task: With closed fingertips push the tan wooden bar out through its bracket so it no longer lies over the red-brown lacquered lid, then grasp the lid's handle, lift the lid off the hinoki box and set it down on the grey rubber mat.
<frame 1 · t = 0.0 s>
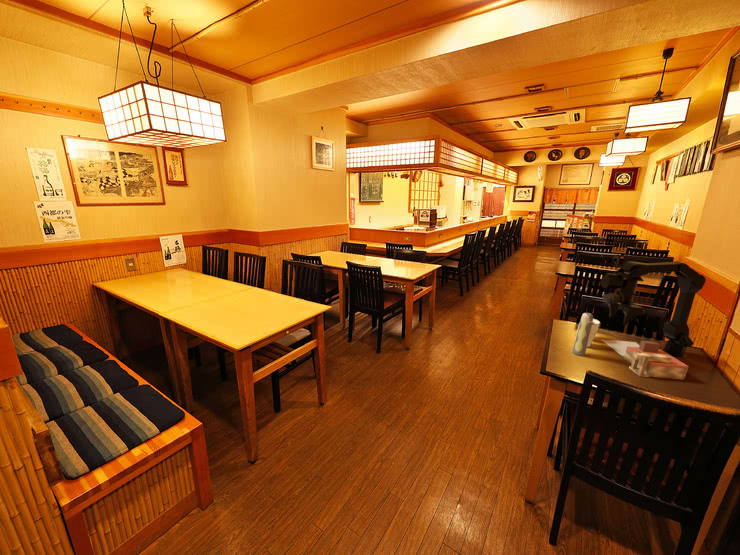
hand: (617, 320, 143), 15 cm above the table, fingers open, 9 cm apart
mat: (629, 349, 147), on the table
toolbox: (652, 368, 131), on the table
lid: (655, 358, 130), point 5 cm above the table, touching toolbox
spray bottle: (578, 353, 141), on the table
tan wooden bar: (651, 357, 126), point 7 cm above the table, slide at 0.0 cm
white cup: (585, 338, 158), on the table
can: (582, 344, 150), on the table
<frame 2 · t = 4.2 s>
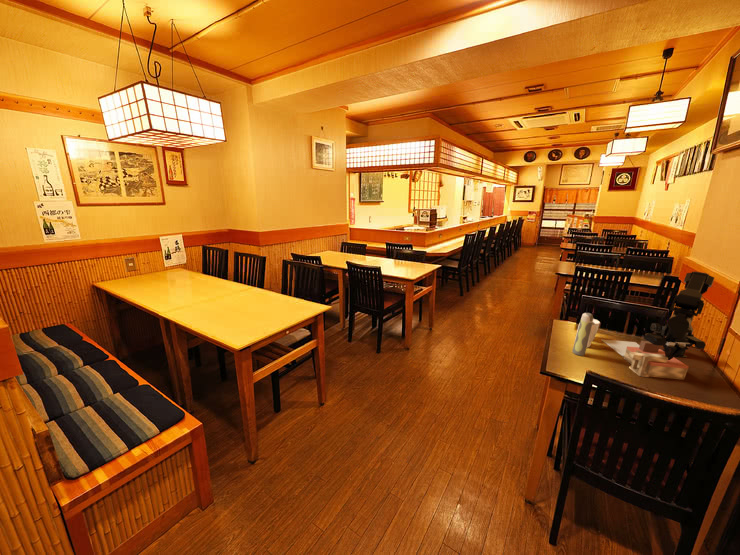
hand: (667, 359, 125), 7 cm above the table, fingers closed
tan wooden bar: (647, 357, 126), point 7 cm above the table, slide at 1.4 cm, touching gripper
everything else where it was.
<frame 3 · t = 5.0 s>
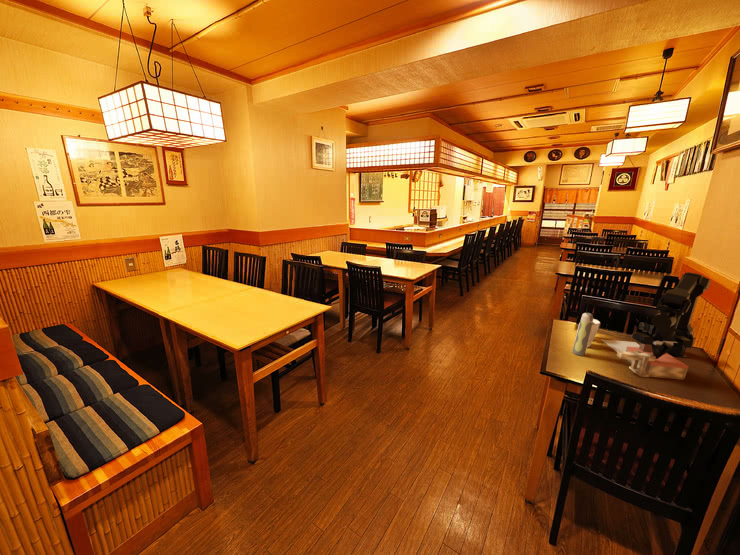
hand: (655, 358, 125), 7 cm above the table, fingers closed
tan wooden bar: (635, 356, 126), point 7 cm above the table, slide at 6.0 cm, touching gripper
everything else where it was.
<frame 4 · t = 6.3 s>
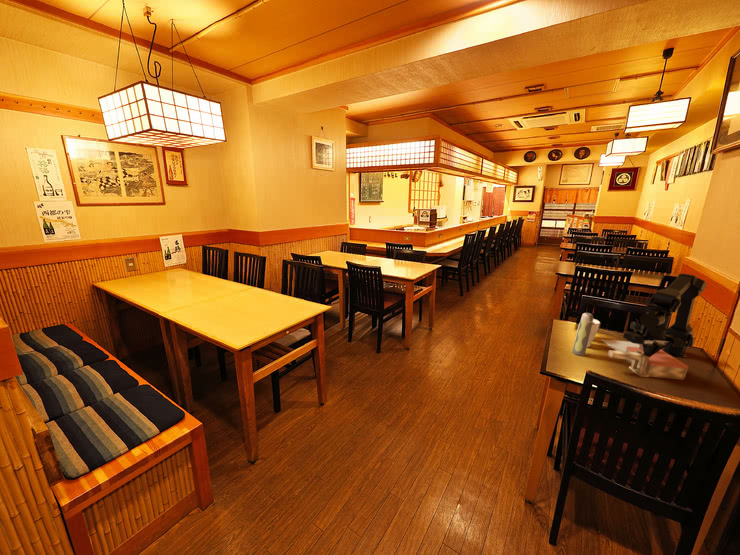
hand: (646, 357, 126), 7 cm above the table, fingers closed
tan wooden bar: (627, 355, 126), point 7 cm above the table, slide at 9.4 cm, touching gripper
everything else where it was.
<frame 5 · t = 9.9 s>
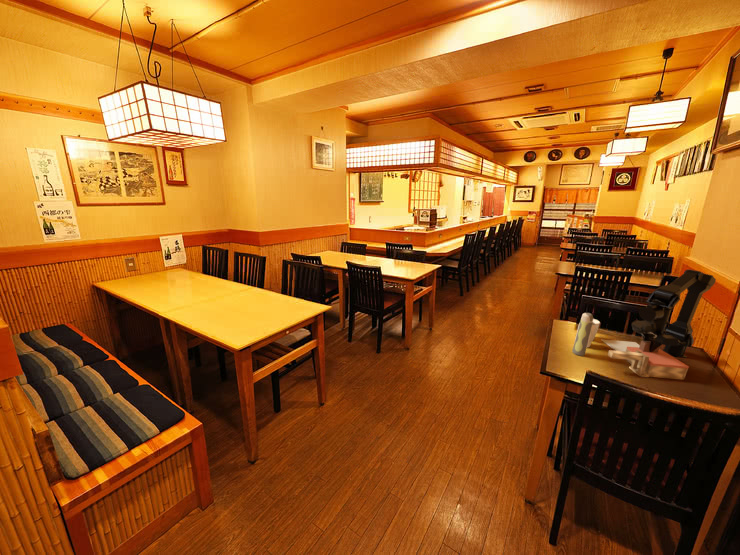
hand: (648, 350, 134), 6 cm above the table, fingers closed on lid, 2 cm apart
lid: (655, 358, 130), point 5 cm above the table, touching gripper, toolbox
tan wooden bar: (627, 355, 126), point 7 cm above the table, slide at 9.4 cm
everything else where it was.
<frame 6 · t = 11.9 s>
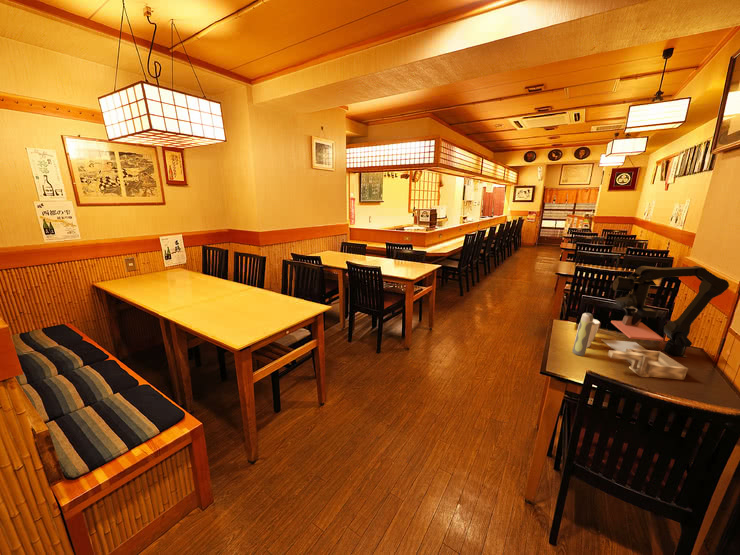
hand: (630, 323, 148), 12 cm above the table, fingers closed on lid, 3 cm apart
lid: (635, 331, 144), point 10 cm above the table, tilted 8°, touching gripper
everything else where it was.
when the fingers open (3 cm above the table, at t = 13.7 s): lid stays where it is, resting on mat.
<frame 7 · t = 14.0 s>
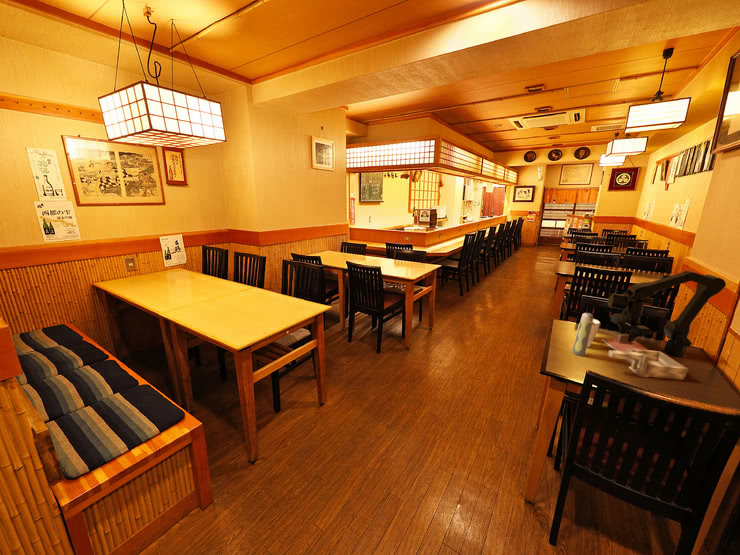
hand: (625, 339, 150), 3 cm above the table, fingers open, 5 cm apart
lid: (629, 348, 147), resting on mat
everything else where it was.
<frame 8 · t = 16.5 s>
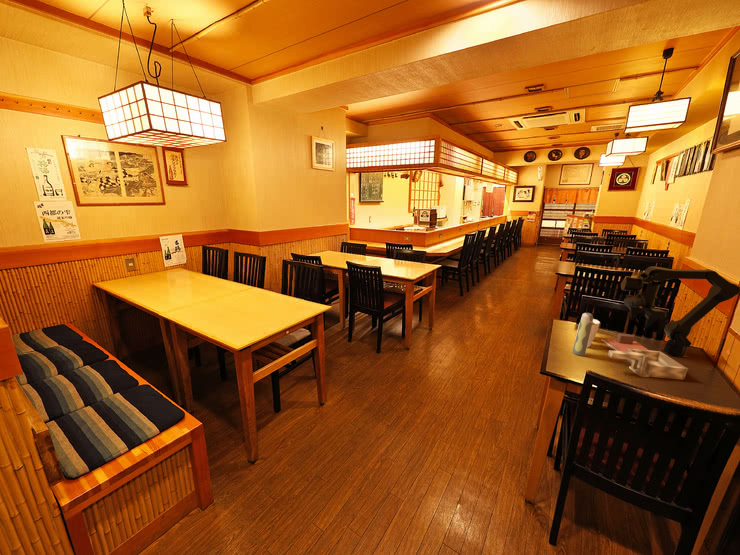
hand: (638, 323, 148), 12 cm above the table, fingers open, 9 cm apart
nothing on the table moved.
at the end: tan wooden bar slide at 9.4 cm; lid inside the target area (0.2 cm from its centre), resting on mat; lid tilted 0° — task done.
